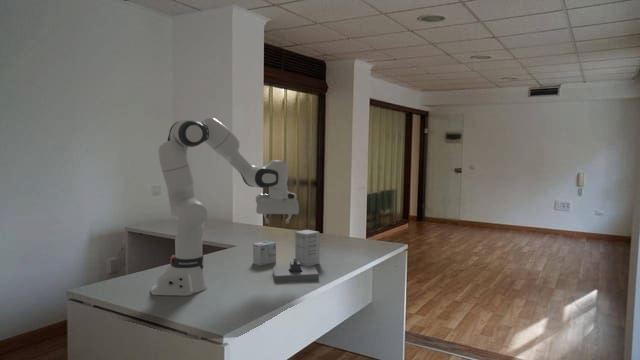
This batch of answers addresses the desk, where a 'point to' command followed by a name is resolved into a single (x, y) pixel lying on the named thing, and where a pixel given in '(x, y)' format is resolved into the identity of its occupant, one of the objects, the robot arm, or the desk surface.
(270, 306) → the desk surface
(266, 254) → the light bulb box
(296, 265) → the plug
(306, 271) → the socket plate
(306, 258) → the supplement box
